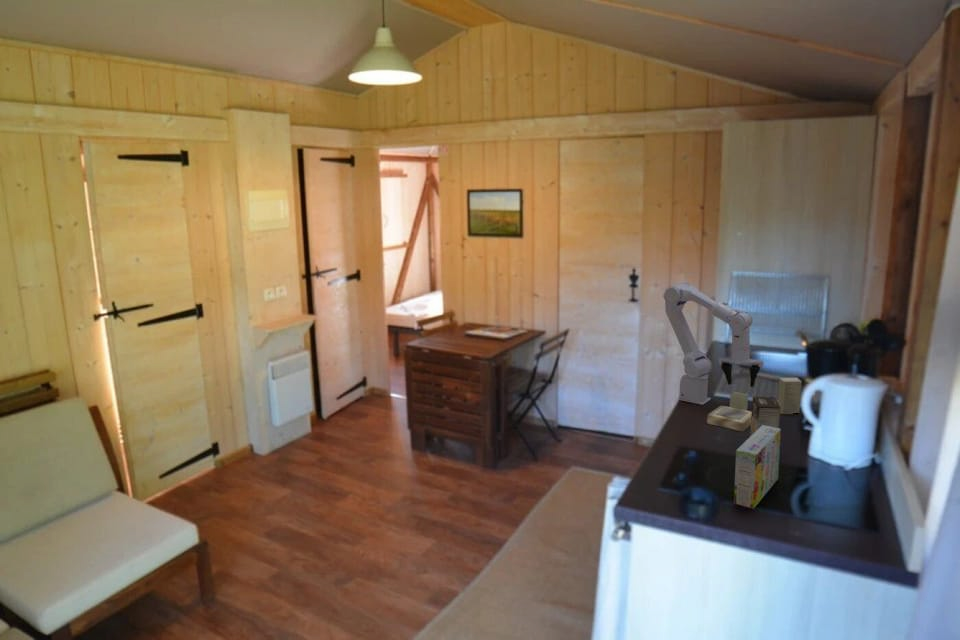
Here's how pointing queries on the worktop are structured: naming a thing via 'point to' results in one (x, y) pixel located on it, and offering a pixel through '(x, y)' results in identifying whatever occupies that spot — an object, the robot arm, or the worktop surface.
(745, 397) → the green block
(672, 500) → the worktop surface
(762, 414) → the coffee box
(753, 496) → the snack box
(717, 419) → the base block
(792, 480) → the worktop surface
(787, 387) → the skincare box
